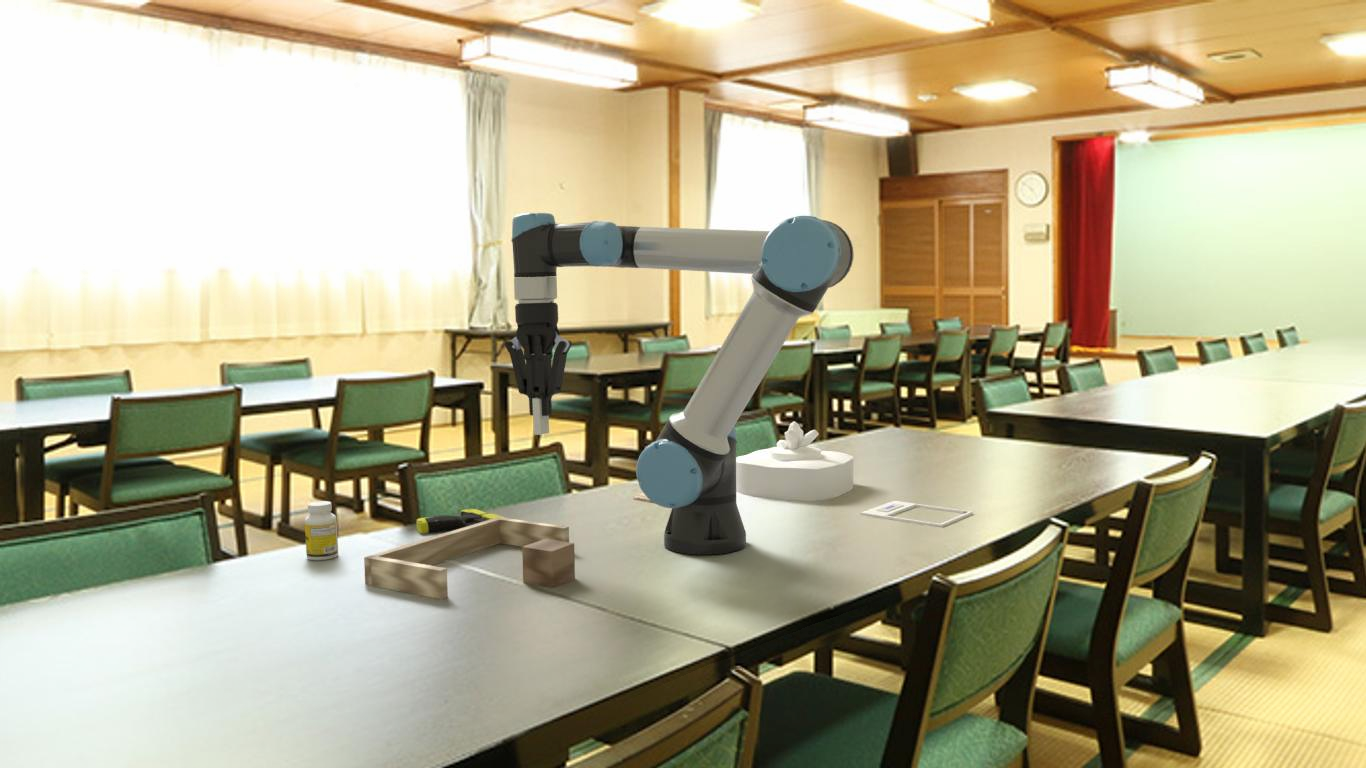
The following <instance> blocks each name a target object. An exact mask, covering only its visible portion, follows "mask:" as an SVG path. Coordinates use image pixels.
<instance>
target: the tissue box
mask: <svg viewBox="0 0 1366 768" xmlns="http://www.w3.org/2000/svg"><path fill="white" fill-rule="evenodd" d="M819 434H820V433H819V432H818V431H817V430H816V429H812V430H810V431H808V432H807V433H805V434H804V430H803V429H802V428H801V427H800V424H799V422H796V420H795V421H792V422H791V423H790V424H789V426H788V430H787V431H785V432H784V438H785V439H779V440H778V441H777V442H776V446H772V447H769V448H765V449H764V448H763V449H758V450H755V451H753V452H750V453H748V454H745V455H744V454H743V455H740V456H736V493H738V494H741V495H743V496H744V495H745V496H749V497H750V496H751V497H760V498H766V499H767V498H769V499H777V500H787V501H822V500H823V501H824V500H830V499H834V498H837V497H839V496H841V495H844V494H845V493H847V492H850V491H851V490H853V488H854V456H853V455H851V454H847V453H844V452H839V451H833V450H832V451H831V450H829V451H828V450H822V449H821V448H818V447H813V446H809V444H811V443H812V442H813V441H814V440H815V439H816V438H817V437H818V436H819Z"/></svg>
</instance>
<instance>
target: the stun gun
mask: <svg viewBox="0 0 1366 768" xmlns="http://www.w3.org/2000/svg"><path fill="white" fill-rule="evenodd" d="M497 517H502V518H506V517H505V516H502V515H498V514H497V513H488V512H485V511H483V510H479V509H477V508H466V509H463V510H461V511H460V516H459V515H446V514H444V515H436V516H435V515H434V516H429V517H428V516H427V517H419V518H417V519H416V520H415V522H416V524H415V526H416V531H417V532H418V533H419V535H425V534H434V533H440V532H450V531H453V530H457V529H460V528H463V527H467V526H470V525H473V524H477V523H480V522H483V521H487V520H490V519H493V518H497Z"/></svg>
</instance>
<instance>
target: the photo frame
mask: <svg viewBox="0 0 1366 768" xmlns="http://www.w3.org/2000/svg"><path fill="white" fill-rule="evenodd" d="M913 508H921V509H928V510H935V511H936V510H937V511H943V512H948V513H949V512H951V513H957V514H959V515H958V516H954V517H953V518H951V519H948V520H946V521H945V520H944V521H943V522H941V523H937V522H933V521H923V520H917V519H911V518H904V517H899V516H894V515H897V514H899V513H903V512H904V511H907V510H910V509H913ZM973 513H974V511H970V510H964V509H962V510H961V509H957V508H956V509H955V508H948V507H943V506H937V505H936V506H935V505H929V504H928V505H926V504H921V503H920V504H919V503H914V502H907V501H898V500H892V501H890V502H886V503H883V504H880V505H879V506H875V507H873V508H870V509H867V510H865V511H861V512H860V516H864V517H871V518H876V519H877V518H878V519H884V520H890V521H891V520H892V521H898V522H905V523H911V524H918V525H922V526H923V525H925V526H931V527H936V528H937V527H938V528H943V527H945V526H948V525H950V524H953V523H956V522H958V521H959V520H962V519H964V518H966V517H969V516H972V515H973Z"/></svg>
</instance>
